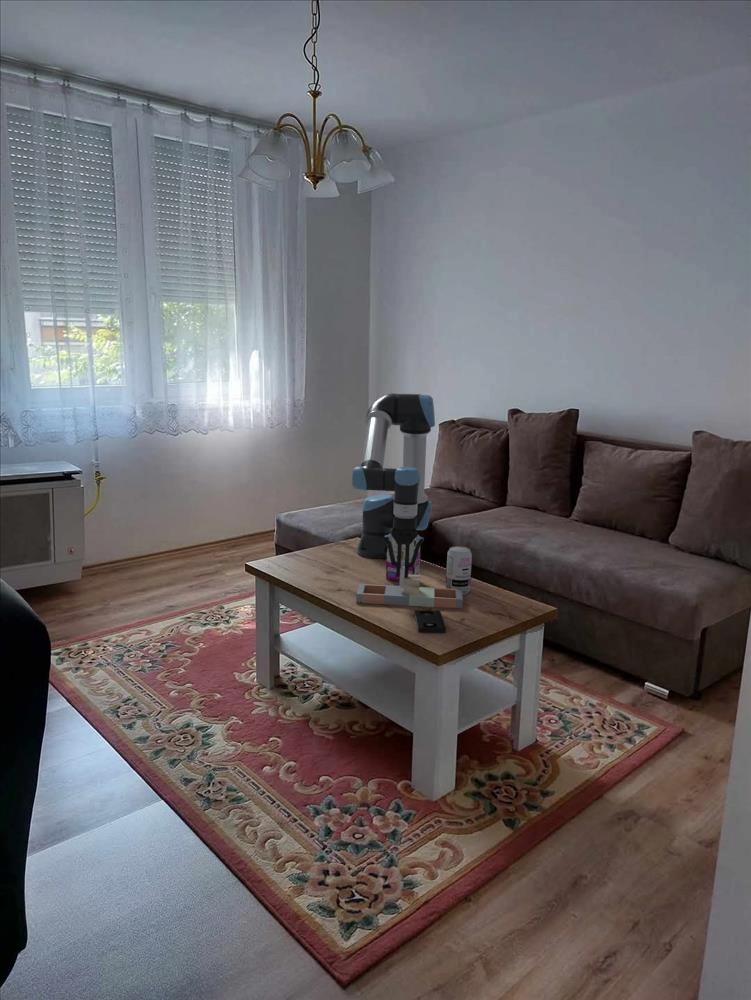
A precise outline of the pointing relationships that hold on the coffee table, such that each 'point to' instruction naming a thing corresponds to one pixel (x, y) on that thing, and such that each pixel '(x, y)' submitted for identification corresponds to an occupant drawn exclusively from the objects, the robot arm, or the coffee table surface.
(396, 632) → the coffee table surface
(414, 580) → the birch block
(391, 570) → the candy bar box
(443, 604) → the trap runway
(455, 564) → the supplement can
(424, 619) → the vhs tape
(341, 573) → the coffee table surface
